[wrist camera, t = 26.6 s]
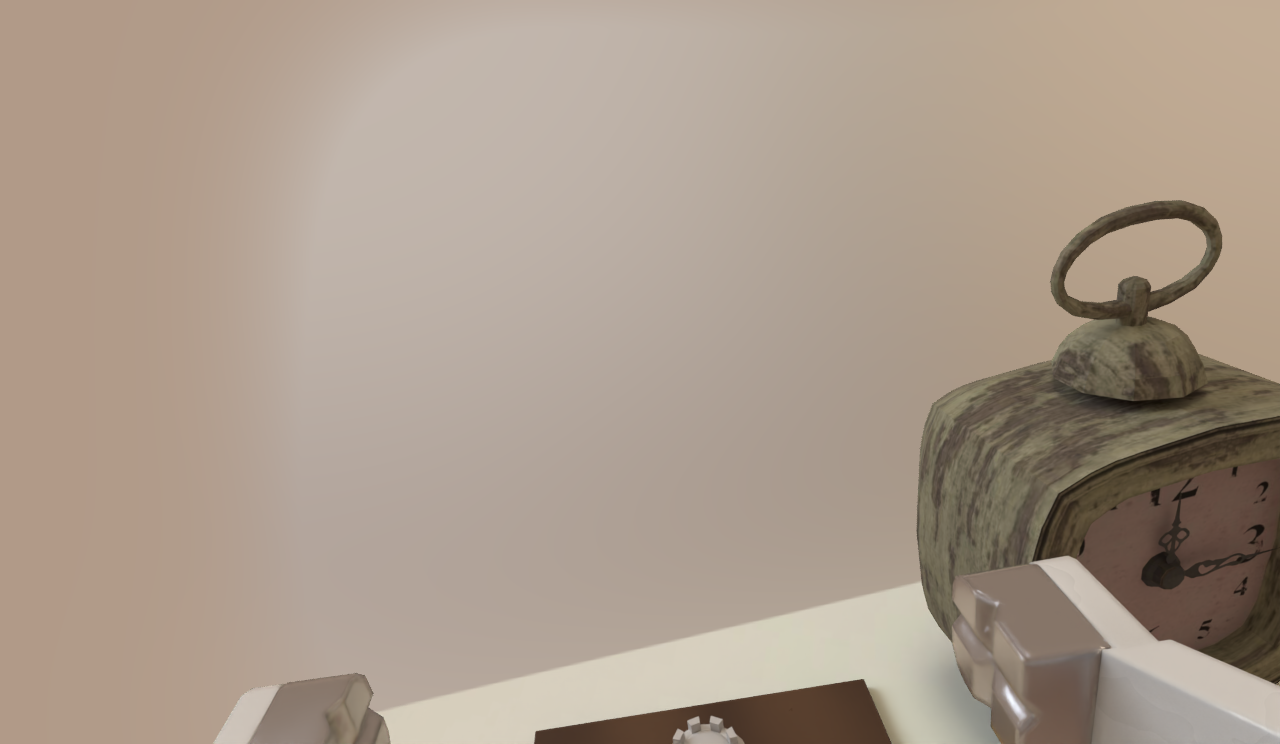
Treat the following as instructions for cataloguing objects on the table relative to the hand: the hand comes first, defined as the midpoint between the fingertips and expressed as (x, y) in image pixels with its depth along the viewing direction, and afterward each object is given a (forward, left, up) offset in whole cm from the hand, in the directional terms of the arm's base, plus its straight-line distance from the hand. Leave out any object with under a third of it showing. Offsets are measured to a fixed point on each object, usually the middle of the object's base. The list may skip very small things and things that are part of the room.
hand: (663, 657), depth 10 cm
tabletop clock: (+19, +18, -25) cm, 36 cm away
